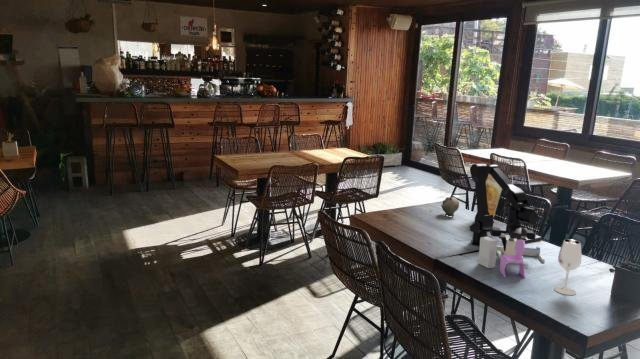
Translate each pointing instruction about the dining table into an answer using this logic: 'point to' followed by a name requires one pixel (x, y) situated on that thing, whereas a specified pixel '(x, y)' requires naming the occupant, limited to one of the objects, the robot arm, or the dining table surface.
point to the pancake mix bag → (492, 194)
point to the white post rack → (527, 251)
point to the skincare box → (487, 252)
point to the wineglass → (569, 262)
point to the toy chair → (514, 258)
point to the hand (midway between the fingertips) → (510, 251)
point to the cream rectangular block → (510, 247)
